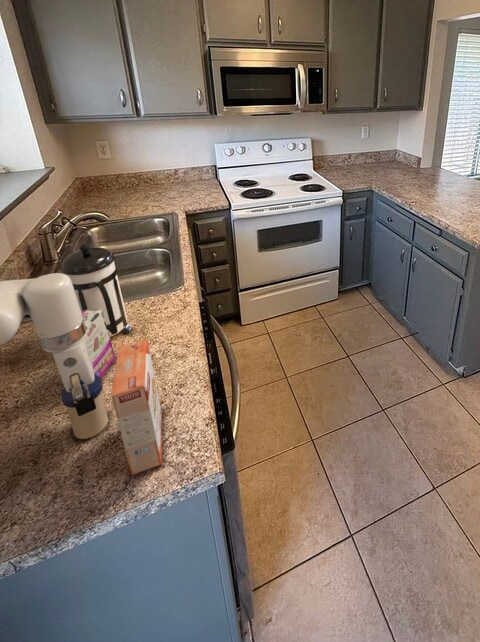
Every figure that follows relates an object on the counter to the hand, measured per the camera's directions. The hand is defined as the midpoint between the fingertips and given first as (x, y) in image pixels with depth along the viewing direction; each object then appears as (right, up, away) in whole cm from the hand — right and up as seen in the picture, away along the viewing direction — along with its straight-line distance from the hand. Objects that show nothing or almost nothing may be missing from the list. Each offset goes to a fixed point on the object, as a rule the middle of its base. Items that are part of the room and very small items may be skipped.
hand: (85, 398), depth 78 cm
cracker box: (+14, -9, -1) cm, 17 cm away
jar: (0, -7, +3) cm, 8 cm away
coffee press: (-14, +3, +31) cm, 34 cm away
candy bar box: (-9, -2, +17) cm, 19 cm away
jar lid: (0, +3, -1) cm, 3 cm away
